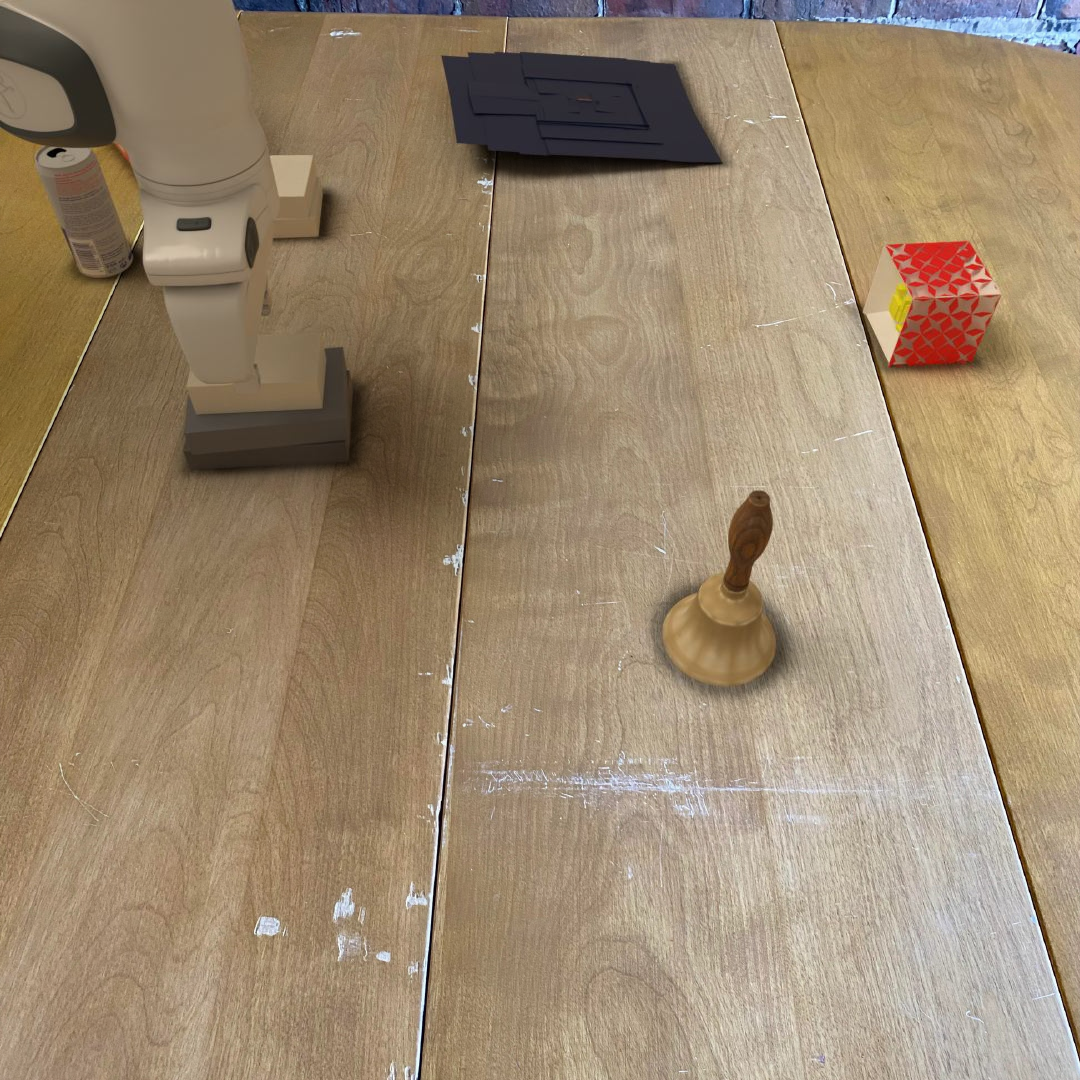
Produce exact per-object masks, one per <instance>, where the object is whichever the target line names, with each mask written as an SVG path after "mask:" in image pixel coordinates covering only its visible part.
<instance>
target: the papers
mask: <svg viewBox="0 0 1080 1080" xmlns="http://www.w3.org/2000/svg"><path fill="white" fill-rule="evenodd" d="M466 53H467V56H457V55H443V54H441V55H440V56H441V61H442V67H443V71H444V76H445V81H446V85H447V90H448V95H449V101H450V107H451V113H452V114H451V115H452V121H453V128H454V134H455V141H456V144H464V145H467V144H468V145H479V146H480V145H481V146H487V150H488V151H493V152H494V151H496V152H512V153H513V152H514V153H519V154H520V155H532V156H533V155H536V156H550V157H555V156H576V157H577V156H578V157H597V158H598V157H599V158H618V159H619V158H621V159H640V160H641V159H642V160H643V159H644V160H663V161H668V162H684V163H685V162H686V163H723V161H722V159H721V158H720V155H719V154H718V152H717V150H716V149H715V146H714V145H713V144H712V141H711V140H710V138H709V136H708V134H707V132H706V131H705V129H704V127H703V126H702V124H701V122H700V120H699V118H698V116H697V114H696V113H695V110H694V109H693V107H692V104H691V102H690V99H689V96H688V95H687V92H686V89H685V87H684V84H683V82H682V79H681V77H680V74H679V72H678V69H677V68H676V67H677V66H676V65H675V63H664V62H653V61H650V60H641V59H628V58H626V57H610V56H596V55H595V56H593V55H578V54H561V53H546V52H531V51H530V52H529V51H519V52H506V51H494V52H493V53H492V52H471V51H467V52H466Z"/></svg>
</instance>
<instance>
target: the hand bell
mask: <svg viewBox="0 0 1080 1080" xmlns="http://www.w3.org/2000/svg"><path fill="white" fill-rule="evenodd" d="M773 527H774V520H773V513H772V507H771V498H770V495H769V494H768V493H767V492H766V491H765V490H752V491H751V492H750V493H749V494H748V496H747V497H746V499H745V501H743V502H742V503H741V505H739V507H738V508H737V509H736V511H735V512H734V514H733V516H732V518H731V520H730V525H729V528H728V534H727V544H728V545H727V546H728V551H729V561H728V565H727V567H726V569H725V572H720V573H717V574H713V575H711V576H710V577H708V578H707V579H706V580H705V581H704V582H703V583H702V584H701V585H700V587H699V589H698V592H695V593H692V594H689V595H688V596H685V597H684V598H681V600H679V601H678V602H677V603H675V604H674V605H673V606H672V607H671V608H670V609H669V611H668V612H667V613H666V616H665V619H664V621H663V625H662V631H661V633H662V634H661V636H662V643H663V646H664V649H665V651H666V653H667V655H668V657H669V658H670V660H671V661H672V663H673V664H674V665H675V666H676V667H677V668H678V669H679V670H680V671H682V672H683V673H684V674H686V675H687V676H688V677H690V678H692V679H694V680H696V681H698V682H700V683H703V684H706V685H710V686H715V687H734V686H741V685H745V684H747V683H750V682H752V681H754V680H756V679H757V678H759V677H761V675H763V674H764V673H765V672H766V671H767V670H768V669H769V667H770V666H771V664H772V663H773V660H774V658H775V655H776V650H777V639H776V634H775V633H776V632H775V631H774V627H773V626H772V623H771V621H770V620H769V619H768V617H767V615H766V614H765V613H764V611H763V608H764V607H763V606H764V600H763V596H762V593H761V591H760V589H759V588H758V586H757V585H756V584H755V583H754V582H753V581H752V580H751V575H752V571H753V566H754V564H755V562H757V560H758V559H759V558H760V557H761V556H762V555H763V554H764V551H765V550H766V548H767V547H768V544H769V542H770V539H771V537H772V532H773Z"/></svg>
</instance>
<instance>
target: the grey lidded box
mask: <svg viewBox="0 0 1080 1080" xmlns="http://www.w3.org/2000/svg"><path fill="white" fill-rule="evenodd" d="M324 350H325V355H326V359H327V360H326V372H325V384H324V395H323V407H322V409H305V410H284V411H263V412H242V413H221V414H200V415H197V414H196V412H195V409H194V407H193V404H192V401H191V398H190V395H189V393H187V403H186V411H185V412H186V413H185V422H184V431H183V434H184V437H185V441H184V444H183V449H182V450H183V454H184V457H185V461H186V462H187V465H188V468H189V470H191V471H194V470H212V469H231V468H251V467H272V466H292V465H308V464H309V465H312V464H329V463H331V464H333V463H348V462H350V446H351V430H352V427H351V426H352V414H353V412H352V411H353V398H354V397H353V393H354V387H353V382H352V375H351V371H350V370H349V369H348V367H347V362H346V361H347V360H346V355H345V351H344V347H343V346H336V347H335V346H334V347H326V348H325V347H324Z"/></svg>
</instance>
